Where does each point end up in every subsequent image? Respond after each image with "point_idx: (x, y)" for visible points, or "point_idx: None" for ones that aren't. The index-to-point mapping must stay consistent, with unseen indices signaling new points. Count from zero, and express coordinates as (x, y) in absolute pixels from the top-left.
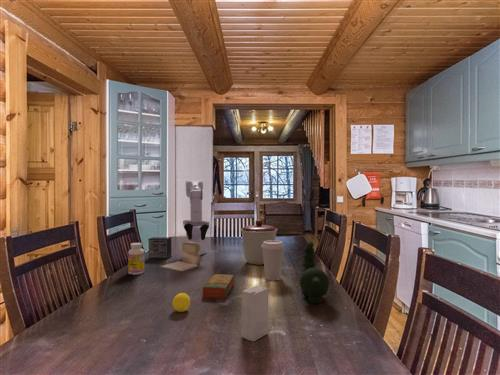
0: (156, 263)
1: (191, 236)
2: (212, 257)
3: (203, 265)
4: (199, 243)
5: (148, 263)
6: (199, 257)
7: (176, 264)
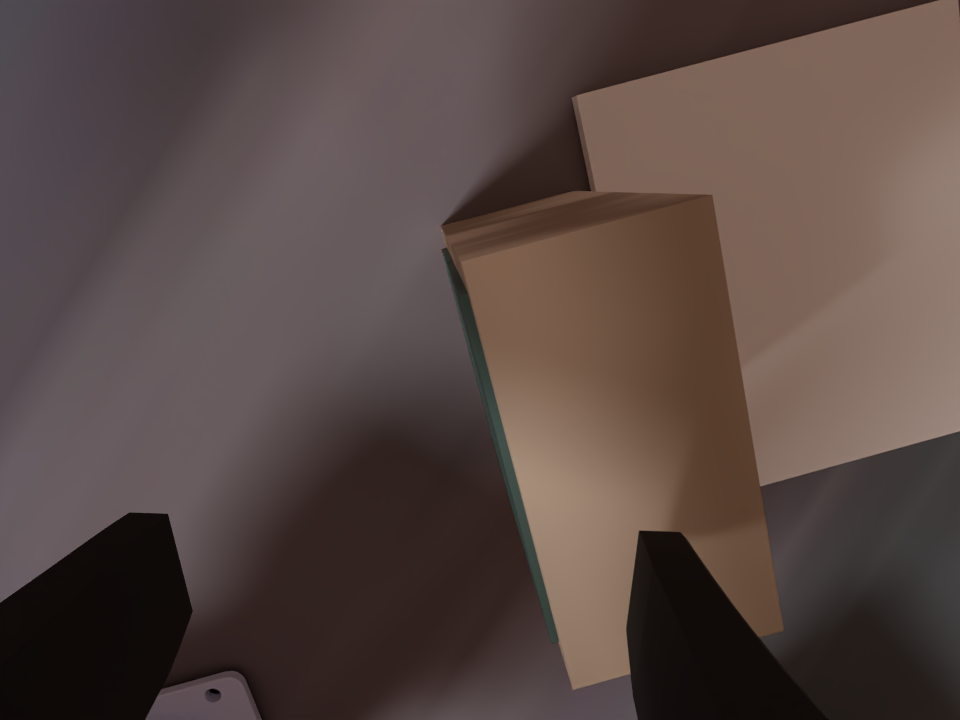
0: (881, 639)
1: (683, 582)
2: (39, 452)
3: (476, 73)
4: (499, 248)
5: (945, 697)
6: (469, 226)
7: (794, 356)
